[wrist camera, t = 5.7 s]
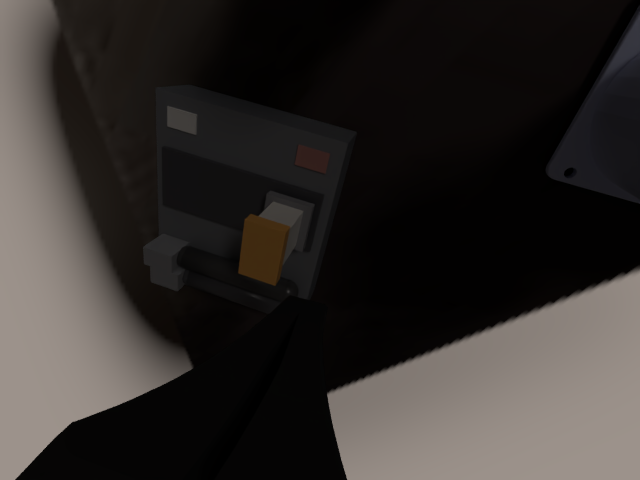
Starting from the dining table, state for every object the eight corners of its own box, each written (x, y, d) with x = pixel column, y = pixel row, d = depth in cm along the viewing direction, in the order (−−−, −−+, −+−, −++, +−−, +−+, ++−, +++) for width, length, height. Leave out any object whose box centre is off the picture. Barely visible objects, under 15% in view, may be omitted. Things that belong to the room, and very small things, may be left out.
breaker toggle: (315, 202, 17) (292, 234, 14) (304, 249, 18) (281, 288, 15) (270, 188, 17) (237, 217, 14) (263, 235, 19) (231, 271, 15)
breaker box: (357, 131, 18) (341, 151, 14) (314, 288, 24) (294, 335, 20) (190, 84, 19) (129, 90, 15) (186, 244, 25) (140, 280, 21)
